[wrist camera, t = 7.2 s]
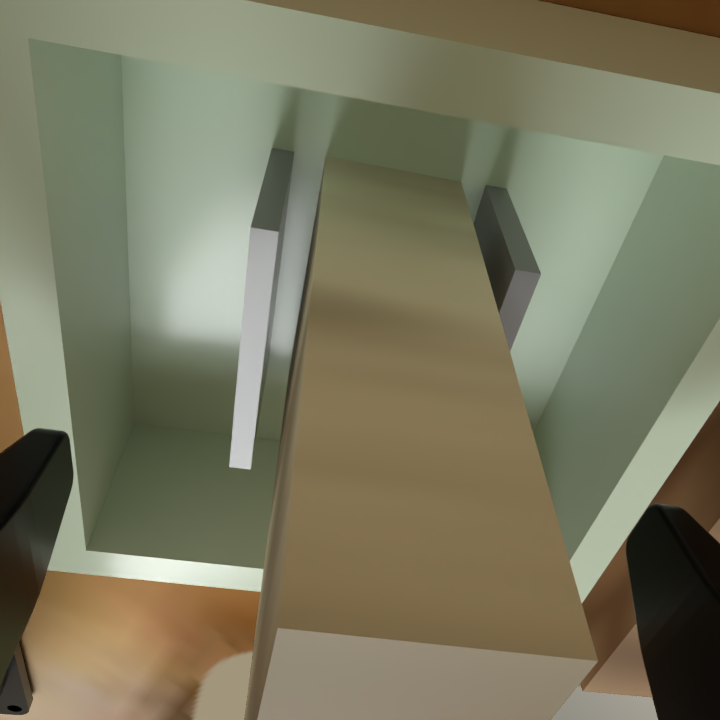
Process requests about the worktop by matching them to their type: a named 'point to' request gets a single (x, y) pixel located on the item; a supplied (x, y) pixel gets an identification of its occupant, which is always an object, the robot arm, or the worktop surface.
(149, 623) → the worktop surface
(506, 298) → the green open tray
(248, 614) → the worktop surface
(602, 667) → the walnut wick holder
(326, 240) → the block
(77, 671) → the worktop surface
